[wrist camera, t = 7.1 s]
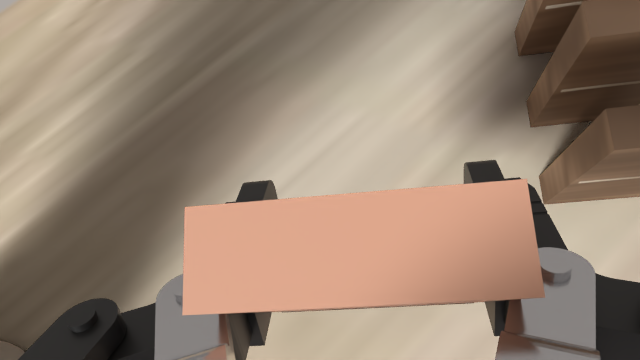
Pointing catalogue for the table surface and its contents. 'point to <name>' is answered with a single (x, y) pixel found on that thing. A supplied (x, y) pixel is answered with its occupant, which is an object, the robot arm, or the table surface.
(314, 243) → the domino
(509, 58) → the table surface
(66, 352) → the robot arm
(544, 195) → the domino
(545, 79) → the domino
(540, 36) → the domino
